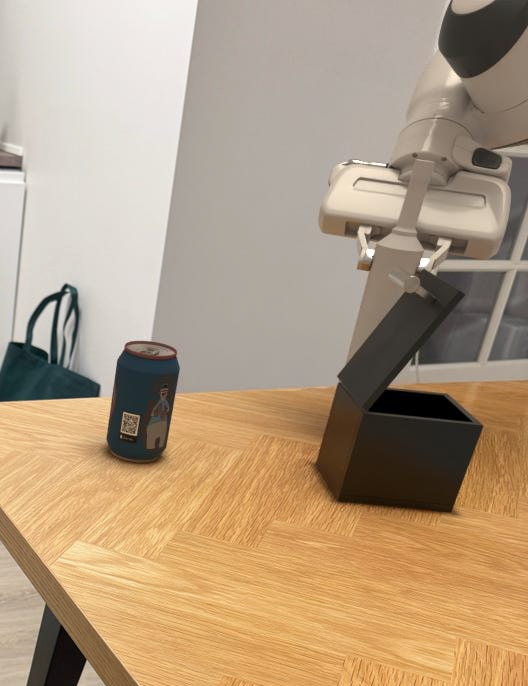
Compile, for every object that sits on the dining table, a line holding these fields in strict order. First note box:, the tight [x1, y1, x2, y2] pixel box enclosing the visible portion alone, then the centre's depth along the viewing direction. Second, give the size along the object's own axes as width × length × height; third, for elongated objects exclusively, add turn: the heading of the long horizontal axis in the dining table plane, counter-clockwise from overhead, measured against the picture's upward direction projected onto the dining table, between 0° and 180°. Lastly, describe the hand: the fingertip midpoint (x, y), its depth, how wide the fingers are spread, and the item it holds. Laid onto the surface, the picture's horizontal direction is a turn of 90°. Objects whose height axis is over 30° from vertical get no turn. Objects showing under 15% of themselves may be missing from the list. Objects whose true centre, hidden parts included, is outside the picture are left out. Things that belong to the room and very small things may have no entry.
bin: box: [315, 381, 484, 513], centre depth 98 cm, size 13×11×10 cm
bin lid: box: [336, 266, 466, 411], centre depth 91 cm, size 13×11×5 cm
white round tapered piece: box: [338, 159, 435, 383], centre depth 101 cm, size 5×5×25 cm
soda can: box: [106, 340, 181, 463], centre depth 99 cm, size 7×7×12 cm
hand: (392, 272), depth 100 cm, fingers closed on white round tapered piece, 5 cm apart
